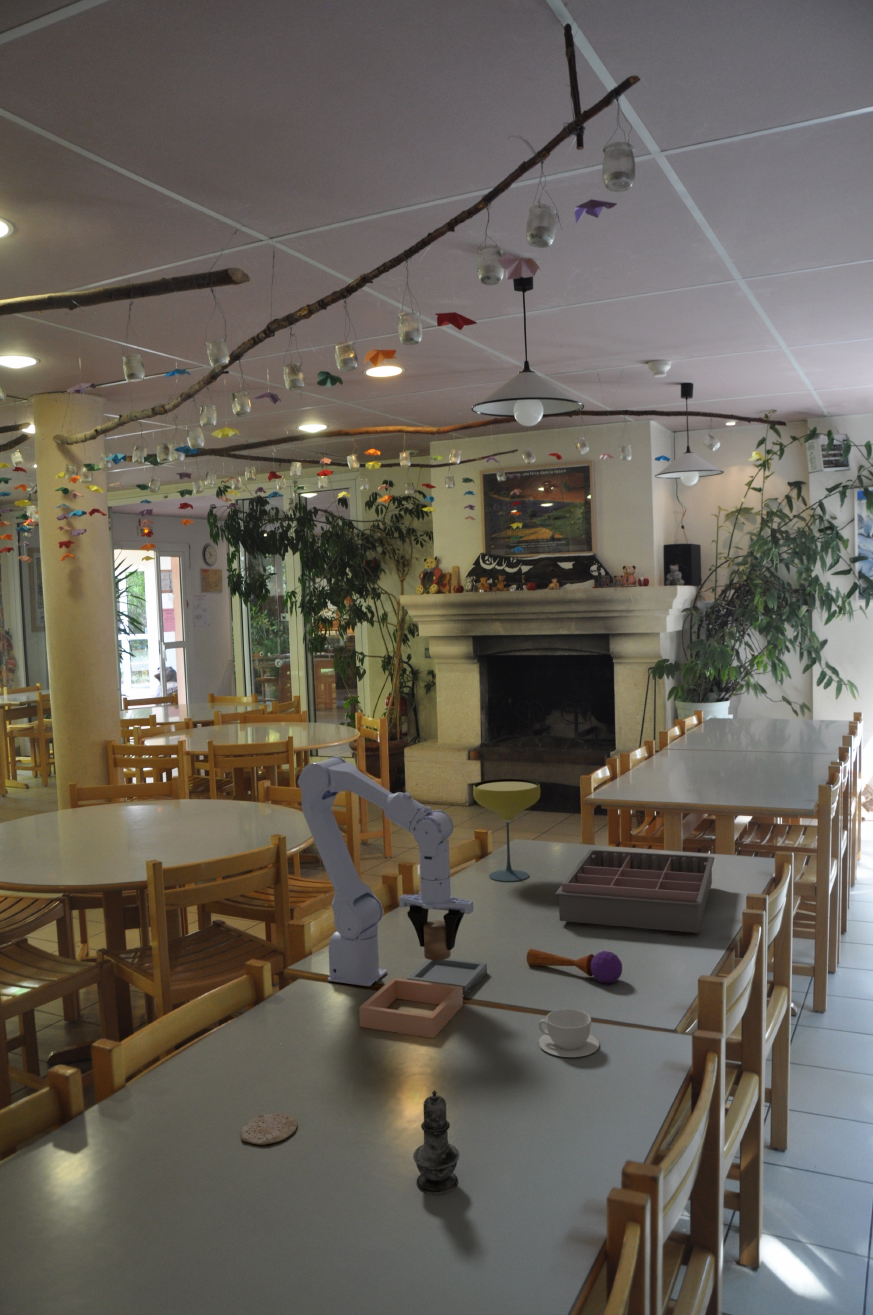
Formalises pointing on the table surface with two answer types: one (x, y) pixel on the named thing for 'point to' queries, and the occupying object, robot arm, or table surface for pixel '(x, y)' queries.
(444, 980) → the tray
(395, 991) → the holder
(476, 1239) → the table surface
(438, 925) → the brown rounded cylinder
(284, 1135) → the flatbread
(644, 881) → the organizer tray
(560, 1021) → the teacup
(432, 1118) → the salt shaker
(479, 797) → the cocktail glass
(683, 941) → the table surface
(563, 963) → the kendama
